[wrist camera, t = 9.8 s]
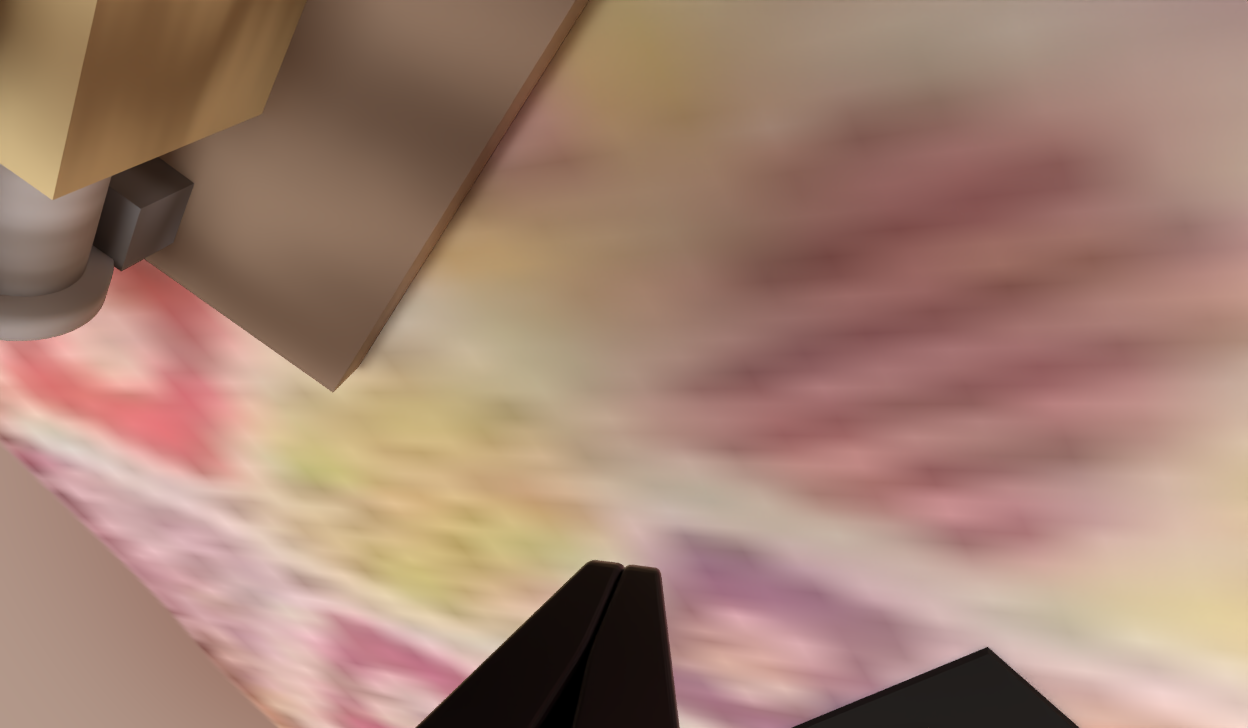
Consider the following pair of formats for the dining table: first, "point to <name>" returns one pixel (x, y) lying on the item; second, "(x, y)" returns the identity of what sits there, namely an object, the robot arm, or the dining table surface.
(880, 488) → the dining table surface
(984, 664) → the sushi
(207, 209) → the valve board
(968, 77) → the dining table surface
